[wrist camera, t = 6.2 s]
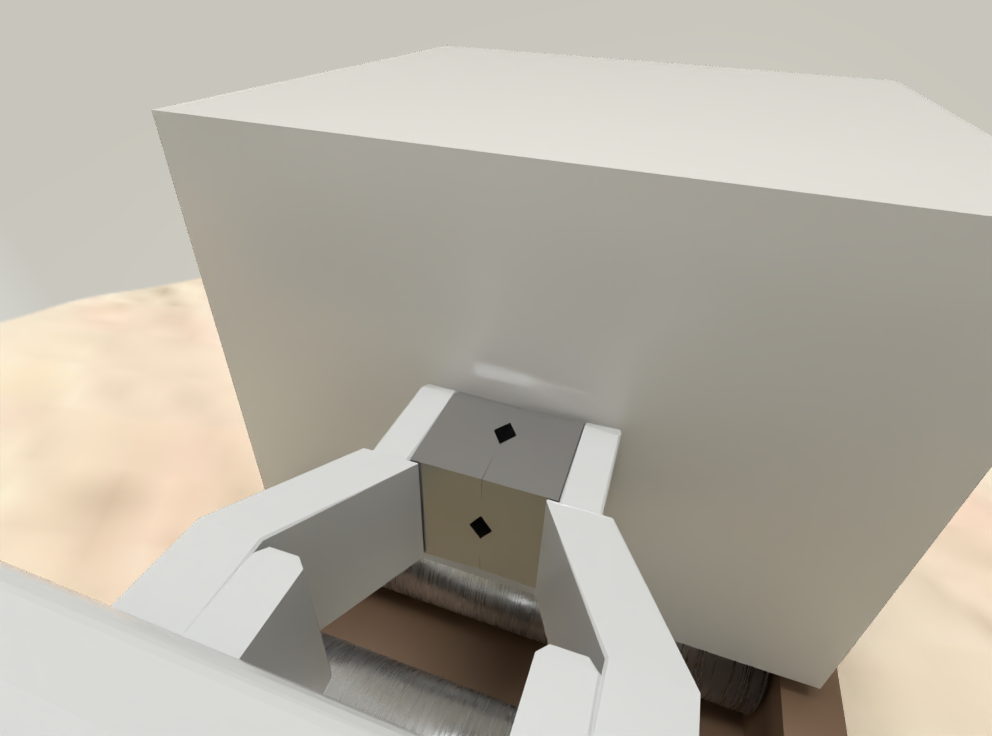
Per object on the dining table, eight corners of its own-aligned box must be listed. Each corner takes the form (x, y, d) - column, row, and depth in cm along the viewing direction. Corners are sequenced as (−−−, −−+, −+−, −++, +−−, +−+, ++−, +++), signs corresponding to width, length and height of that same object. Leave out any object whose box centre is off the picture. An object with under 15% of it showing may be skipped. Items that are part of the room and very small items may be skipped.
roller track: (806, 1164, 8) (1188, 1176, 4) (127, 806, 11) (-77, 594, 7) (753, 349, 25) (809, 192, 21) (498, 299, 28) (504, 154, 24)
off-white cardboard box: (820, 689, 9) (1166, 238, 5) (270, 507, 12) (151, 109, 7) (779, 369, 17) (895, 80, 13) (449, 302, 20) (445, 45, 15)
